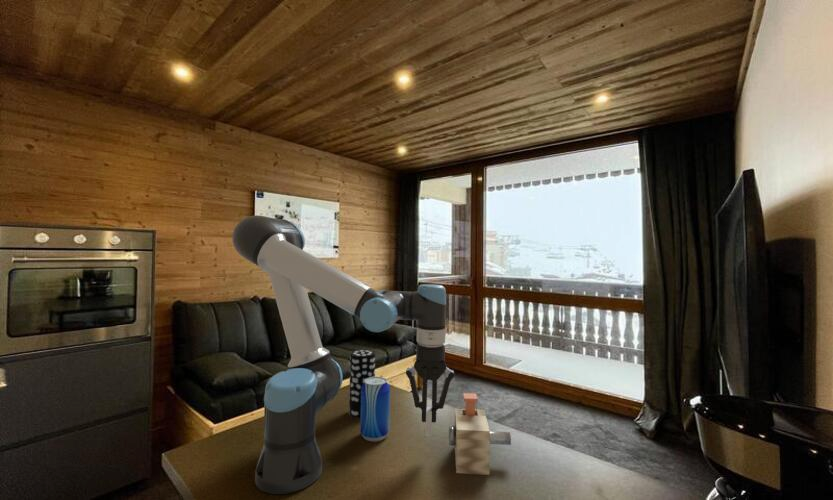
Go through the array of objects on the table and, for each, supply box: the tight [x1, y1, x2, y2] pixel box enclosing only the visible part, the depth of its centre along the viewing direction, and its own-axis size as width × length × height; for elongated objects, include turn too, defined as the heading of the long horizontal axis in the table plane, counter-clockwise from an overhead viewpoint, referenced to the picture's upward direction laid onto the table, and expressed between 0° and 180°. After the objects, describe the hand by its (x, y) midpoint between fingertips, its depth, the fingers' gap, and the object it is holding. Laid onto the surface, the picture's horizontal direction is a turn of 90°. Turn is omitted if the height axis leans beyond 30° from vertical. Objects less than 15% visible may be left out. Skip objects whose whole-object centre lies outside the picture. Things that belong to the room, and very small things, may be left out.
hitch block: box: [453, 408, 491, 476], centre depth 93 cm, size 8×12×10 cm, turn 176°
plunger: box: [462, 392, 479, 416], centre depth 97 cm, size 4×4×8 cm
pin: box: [448, 425, 512, 447], centre depth 93 cm, size 16×5×5 cm, turn 86°
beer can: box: [359, 376, 391, 442], centre depth 105 cm, size 8×8×16 cm
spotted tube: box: [348, 349, 376, 420], centre depth 119 cm, size 8×8×20 cm
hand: (428, 433), depth 94 cm, fingers closed
